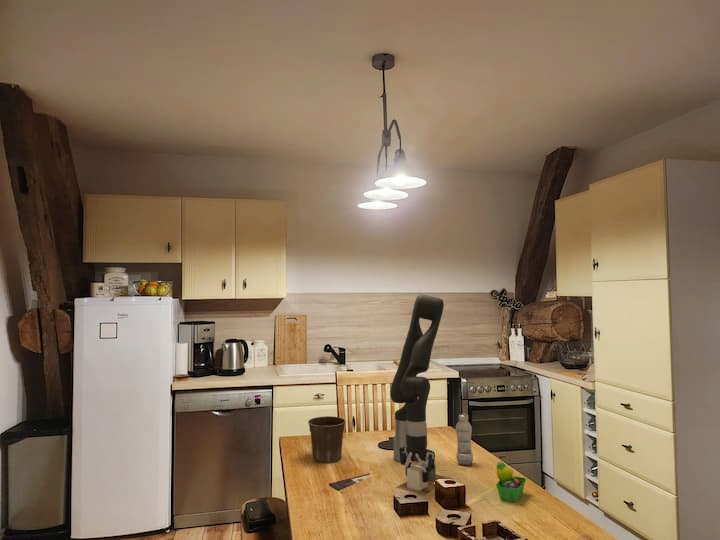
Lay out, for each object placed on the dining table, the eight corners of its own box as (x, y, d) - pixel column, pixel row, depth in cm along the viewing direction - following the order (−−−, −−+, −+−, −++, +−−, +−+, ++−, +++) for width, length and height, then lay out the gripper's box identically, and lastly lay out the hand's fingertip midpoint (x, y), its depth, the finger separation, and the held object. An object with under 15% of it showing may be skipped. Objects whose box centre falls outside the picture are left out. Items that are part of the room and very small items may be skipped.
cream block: (407, 487, 182) (406, 468, 182) (415, 483, 186) (414, 464, 186) (419, 490, 179) (419, 471, 179) (427, 486, 183) (427, 467, 183)
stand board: (424, 498, 175) (424, 495, 175) (395, 490, 182) (395, 487, 183) (453, 481, 190) (453, 478, 190) (426, 474, 198) (425, 471, 198)
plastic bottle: (473, 467, 206) (472, 416, 206) (456, 466, 207) (455, 416, 208) (473, 462, 212) (471, 413, 213) (456, 461, 213) (455, 412, 214)
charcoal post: (426, 479, 189) (425, 465, 190) (429, 477, 191) (429, 463, 192) (432, 481, 188) (431, 466, 188) (435, 479, 190) (435, 464, 190)
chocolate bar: (328, 483, 189) (368, 473, 199) (328, 486, 189) (368, 475, 199) (341, 491, 182) (382, 480, 191) (341, 494, 182) (382, 482, 191)
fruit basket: (518, 504, 169) (517, 470, 169) (492, 499, 174) (491, 465, 174) (527, 493, 179) (526, 460, 179) (502, 488, 183) (501, 456, 184)
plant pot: (351, 461, 214) (351, 423, 215) (314, 467, 208) (314, 427, 209) (338, 451, 230) (338, 414, 230) (304, 455, 224) (303, 418, 224)
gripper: (394, 431, 185) (394, 478, 184) (427, 438, 176) (428, 487, 175) (405, 427, 191) (406, 472, 190) (439, 433, 182) (440, 481, 181)
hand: (417, 479), depth 183 cm, fingers open, 6 cm apart
